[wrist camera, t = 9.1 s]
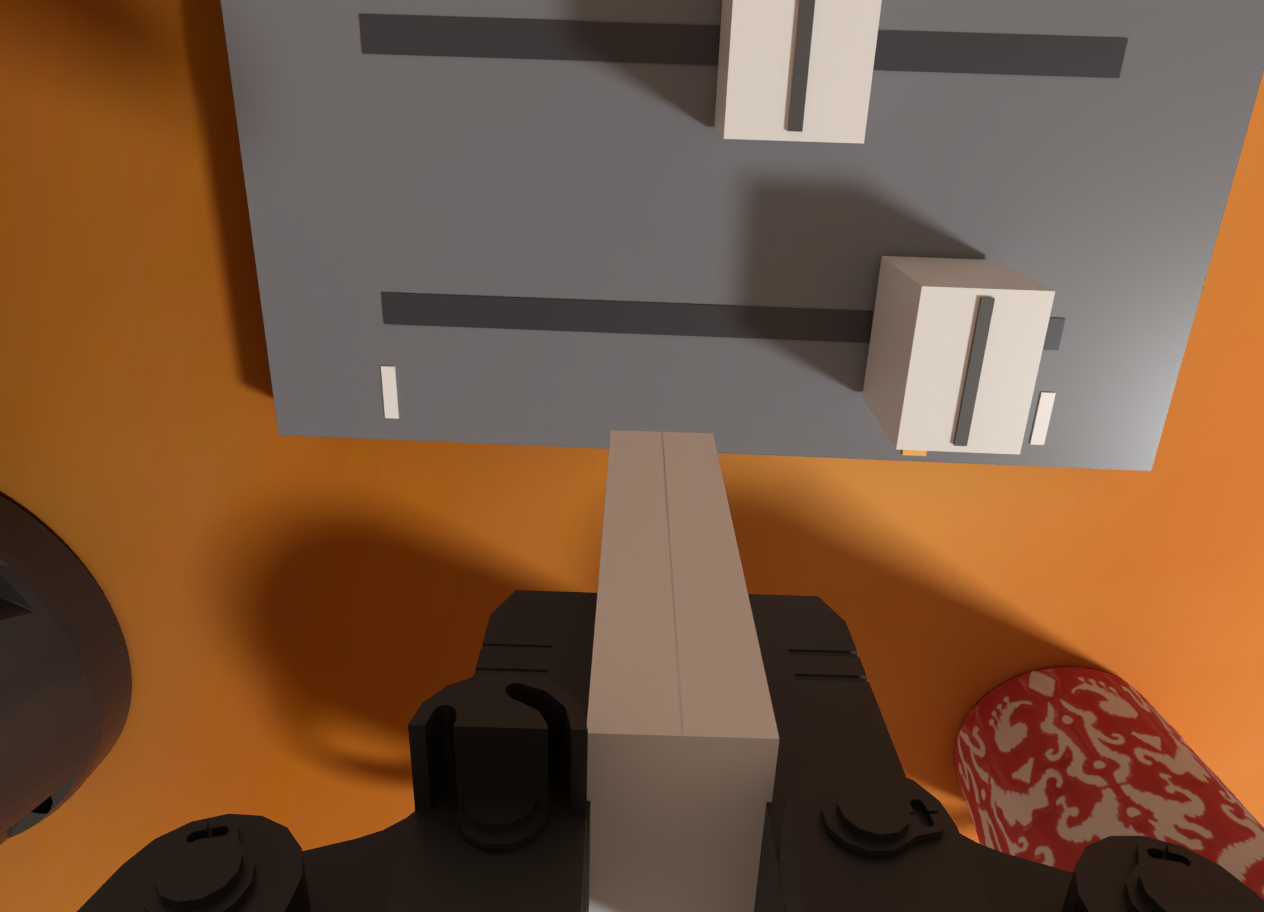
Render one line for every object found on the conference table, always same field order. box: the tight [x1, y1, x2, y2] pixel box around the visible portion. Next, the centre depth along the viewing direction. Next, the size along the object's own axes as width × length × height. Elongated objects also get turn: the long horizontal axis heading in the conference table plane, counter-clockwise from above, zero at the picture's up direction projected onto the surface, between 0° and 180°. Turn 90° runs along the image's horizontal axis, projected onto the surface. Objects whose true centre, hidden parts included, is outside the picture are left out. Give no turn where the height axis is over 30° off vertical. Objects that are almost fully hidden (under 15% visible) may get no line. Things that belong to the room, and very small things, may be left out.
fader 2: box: [862, 256, 1055, 455], centre depth 22 cm, size 3×4×4 cm
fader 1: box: [714, 0, 882, 144], centre depth 20 cm, size 3×4×4 cm
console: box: [221, 0, 1264, 471], centre depth 24 cm, size 26×15×2 cm, turn 88°
